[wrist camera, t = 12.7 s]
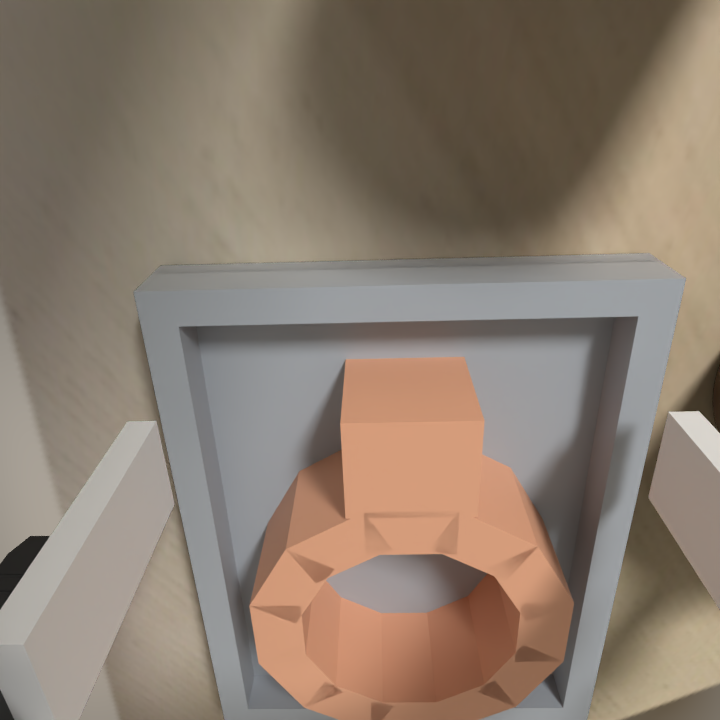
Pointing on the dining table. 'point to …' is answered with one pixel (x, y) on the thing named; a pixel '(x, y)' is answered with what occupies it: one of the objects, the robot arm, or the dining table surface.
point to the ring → (401, 537)
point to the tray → (408, 340)
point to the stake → (717, 400)
